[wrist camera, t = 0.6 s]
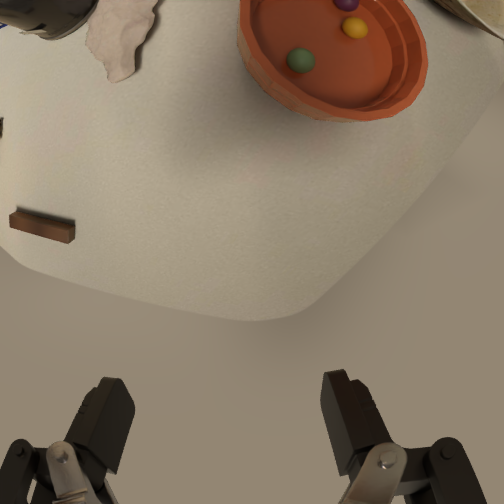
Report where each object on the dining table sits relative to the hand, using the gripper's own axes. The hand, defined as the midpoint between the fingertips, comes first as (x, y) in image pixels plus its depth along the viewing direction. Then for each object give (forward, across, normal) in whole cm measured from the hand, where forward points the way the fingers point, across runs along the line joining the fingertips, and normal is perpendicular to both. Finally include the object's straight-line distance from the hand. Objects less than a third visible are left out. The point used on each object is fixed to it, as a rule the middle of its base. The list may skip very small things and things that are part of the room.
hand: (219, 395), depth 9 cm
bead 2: (+16, -13, -26) cm, 33 cm away
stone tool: (+17, +9, -25) cm, 32 cm away
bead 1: (+17, -8, -17) cm, 25 cm away
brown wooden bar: (+18, +22, -5) cm, 29 cm away
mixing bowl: (+18, -11, -20) cm, 30 cm away
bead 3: (+17, -14, -22) cm, 31 cm away
